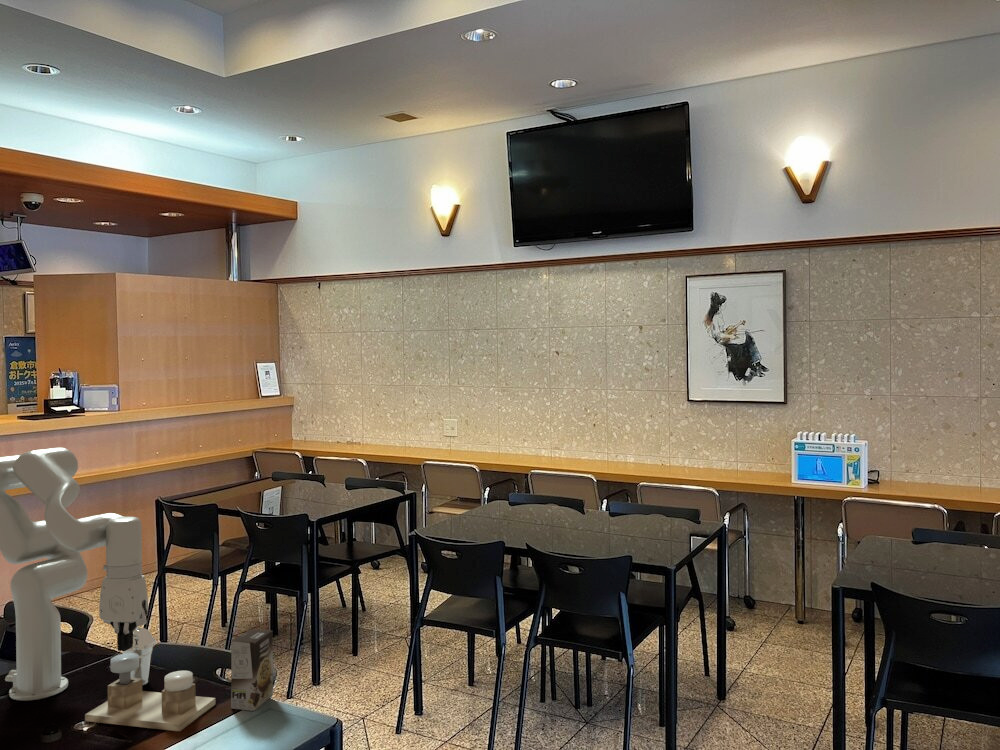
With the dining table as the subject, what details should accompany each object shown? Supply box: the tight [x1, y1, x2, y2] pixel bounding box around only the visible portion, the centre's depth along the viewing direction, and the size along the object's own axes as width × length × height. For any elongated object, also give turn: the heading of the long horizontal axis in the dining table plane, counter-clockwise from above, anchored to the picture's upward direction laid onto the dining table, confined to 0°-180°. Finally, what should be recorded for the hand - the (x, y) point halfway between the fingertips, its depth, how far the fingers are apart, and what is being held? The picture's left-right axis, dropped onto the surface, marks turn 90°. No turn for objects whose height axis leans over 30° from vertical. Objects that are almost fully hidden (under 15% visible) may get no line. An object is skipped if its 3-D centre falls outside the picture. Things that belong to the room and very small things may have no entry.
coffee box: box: [230, 628, 274, 712], centre depth 188 cm, size 9×6×16 cm
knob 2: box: [164, 670, 194, 692], centre depth 181 cm, size 6×6×8 cm
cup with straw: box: [122, 626, 157, 686], centre depth 199 cm, size 8×9×20 cm
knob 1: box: [110, 653, 139, 685], centre depth 184 cm, size 6×6×8 cm
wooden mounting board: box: [84, 678, 216, 732], centre depth 183 cm, size 24×14×6 cm, turn 78°
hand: (125, 648), depth 184 cm, fingers closed
